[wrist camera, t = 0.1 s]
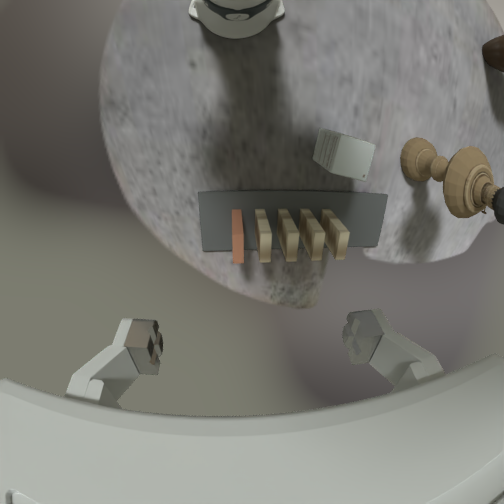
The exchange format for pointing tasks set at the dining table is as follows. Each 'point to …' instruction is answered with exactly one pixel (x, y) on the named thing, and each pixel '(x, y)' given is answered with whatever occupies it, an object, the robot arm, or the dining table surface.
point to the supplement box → (343, 154)
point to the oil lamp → (456, 177)
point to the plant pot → (494, 52)
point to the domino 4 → (311, 234)
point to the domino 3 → (287, 235)
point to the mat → (340, 203)
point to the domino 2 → (263, 236)
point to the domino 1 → (237, 236)
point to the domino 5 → (334, 234)
